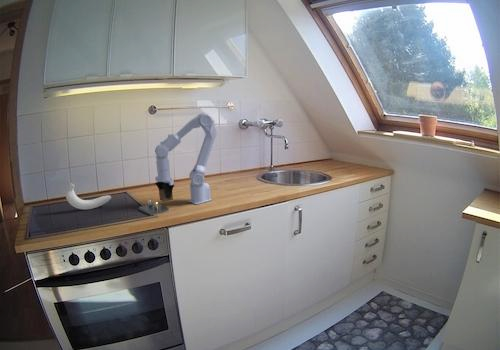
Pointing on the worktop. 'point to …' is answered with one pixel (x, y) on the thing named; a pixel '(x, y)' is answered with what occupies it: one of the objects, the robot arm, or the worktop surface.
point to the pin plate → (153, 208)
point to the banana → (85, 203)
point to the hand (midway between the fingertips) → (166, 196)
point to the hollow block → (164, 196)
